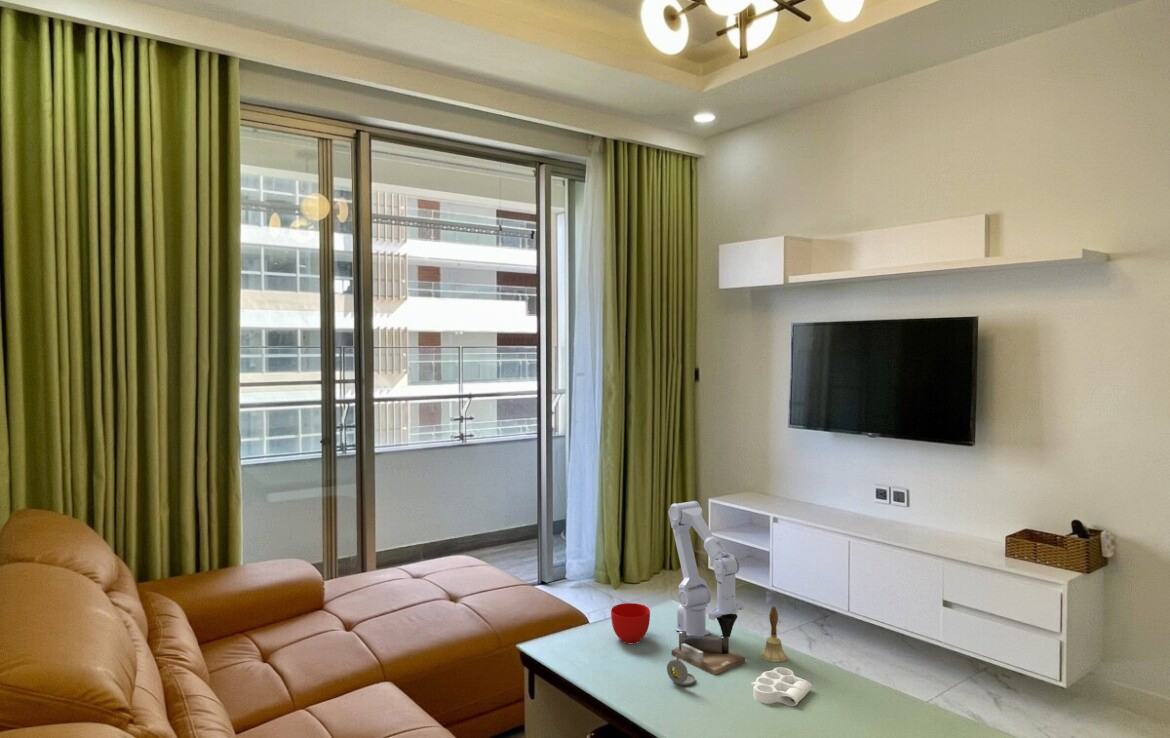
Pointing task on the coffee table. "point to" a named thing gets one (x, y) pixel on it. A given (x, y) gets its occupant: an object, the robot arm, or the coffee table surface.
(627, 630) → the ceramic cup
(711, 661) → the press base
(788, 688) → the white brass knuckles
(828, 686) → the coffee table surface
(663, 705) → the coffee table surface
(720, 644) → the lever
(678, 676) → the pocket watch
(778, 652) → the hand bell
